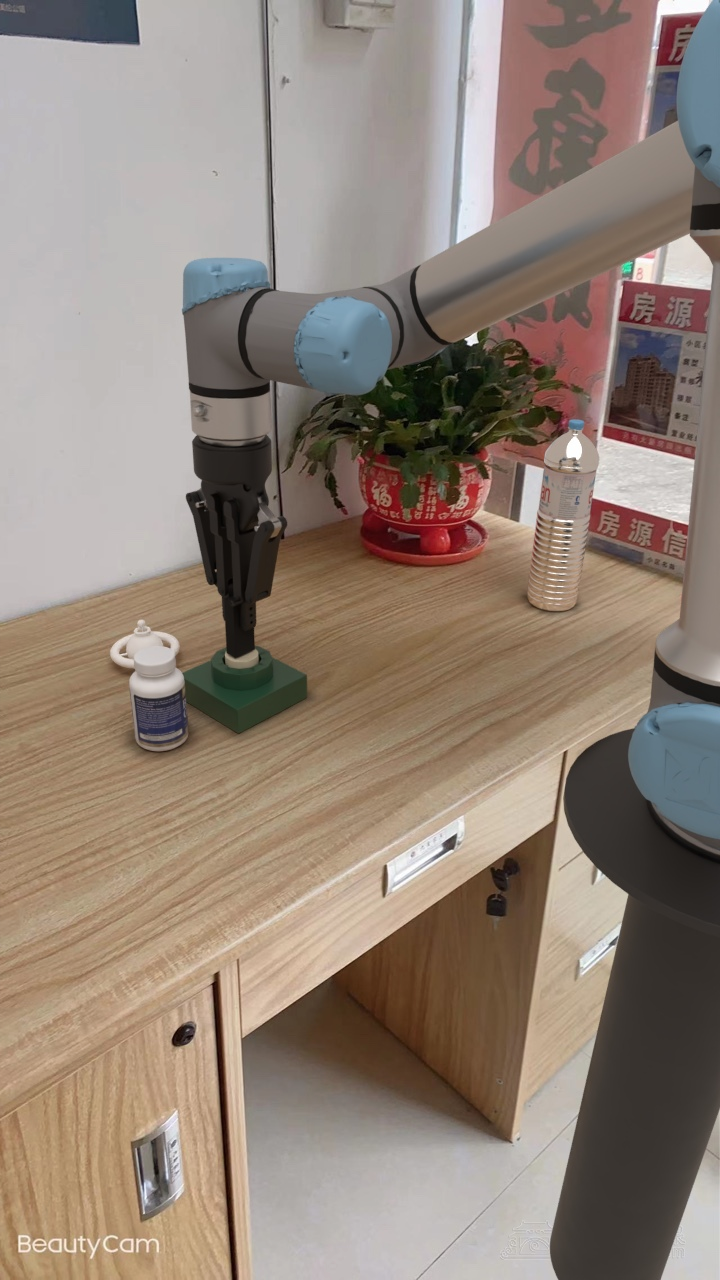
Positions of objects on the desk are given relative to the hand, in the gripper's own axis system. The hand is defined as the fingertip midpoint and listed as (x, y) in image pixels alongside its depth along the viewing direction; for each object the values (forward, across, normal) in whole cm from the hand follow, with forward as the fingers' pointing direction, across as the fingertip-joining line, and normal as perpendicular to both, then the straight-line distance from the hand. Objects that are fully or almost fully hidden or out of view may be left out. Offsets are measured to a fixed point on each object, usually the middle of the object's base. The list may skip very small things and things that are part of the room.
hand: (240, 651), depth 95 cm
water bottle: (+6, +11, +46) cm, 48 cm away
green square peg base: (+6, 0, 0) cm, 6 cm away
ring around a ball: (+6, -14, -3) cm, 16 cm away
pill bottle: (+6, 0, -11) cm, 12 cm away
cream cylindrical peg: (+2, 0, 0) cm, 2 cm away
